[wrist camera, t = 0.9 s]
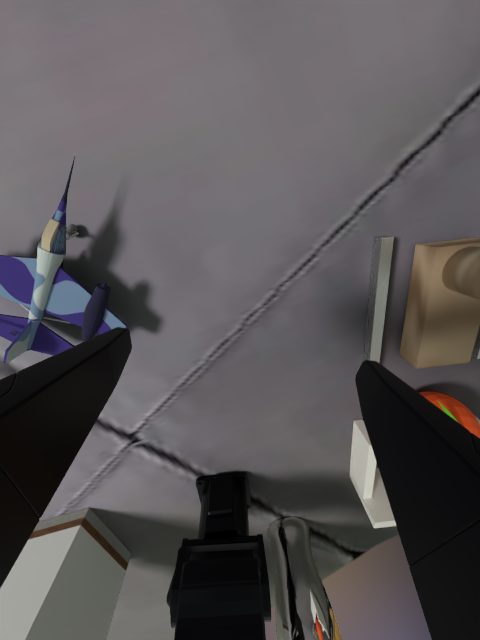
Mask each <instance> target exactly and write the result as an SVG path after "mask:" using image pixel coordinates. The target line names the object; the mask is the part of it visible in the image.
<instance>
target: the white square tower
mask: <svg viewBox="0 0 480 640" xmlns="http://www.w3.org/2000/svg"><path fill="white" fill-rule="evenodd" d="M130 555H131V553H130V551H129V550H128V549H127V548H126V547H125V546H124V545H123V544H122V543H121V542H120V541H119V539H118V538H117V537H116V536H115V535H114V534H113V533H112V532H111V531H110V530H109V529H108V528H107V526H106V525H105V524H104V523H103V522H102V521H101V520H100V519H99V518H98V517H97V516H96V514H95V513H94V512H93V511H92V510H91V509H90V508H86V509H82V510H79V511H75V512H72V513H68V514H65V515H61V516H58V517H54V518H51V519H47V520H44V521H40V522H38V524H37V525H36V527H35V529H34V531H33V532H32V534H31V536H30V538H29V539H28V541H27V543H26V545H25V546H24V548H23V550H22V552H21V553H20V555H19V557H18V559H17V560H16V562H15V564H14V566H13V567H12V569H11V571H10V573H9V574H8V576H7V578H6V580H5V581H4V583H3V585H2V587H1V588H0V640H106V638H107V634H108V631H109V627H110V624H111V620H112V617H113V614H114V610H115V607H116V603H117V600H118V597H119V593H120V590H121V586H122V583H123V579H124V576H125V573H126V569H127V566H128V562H129V559H130Z"/></svg>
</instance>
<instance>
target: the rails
mask: <svg viewBox="0 0 480 640" xmlns="http://www.w3.org/2000/svg"><path fill="white" fill-rule="evenodd" d="M393 241H394V236H377V237H374V242H373V254H372V265H371V277H370V288H369V300H368V311H367V323H366V334H365V346H364V358H363V361H364V360H372V361H377V362H378V363H379V362H380V353H381V345H382V336H383V327H384V319H385V310H386V301H387V293H388V284H389V276H390V267H391V258H392V250H393ZM471 356H472V357H474V358H476V359H480V326H479V330H478V333H477V337H476V341H475V344H474V348H473V351H472V355H471Z"/></svg>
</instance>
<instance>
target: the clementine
mask: <svg viewBox="0 0 480 640" xmlns="http://www.w3.org/2000/svg"><path fill="white" fill-rule="evenodd" d="M418 393H419V394H421V395H422V396H424V397H425V398H426V399H428V400H429V401H430V402H432V403H433V404H434V405H436V406H437V407H438V408H440V409H441V410H442V411H444V412H445V413H446V414H448V415H449V416H450V417H452V418H453V419H454V420H456V421H457V422H458V423H460V424H461V425H462V426H464V427H465V428H466V429H468V430H469V431H470V433H473V434H474V435H476V436H477V437H478V438H480V424H479V423H478V421H477V419H476V417H475V416H474V414H473V413H472V412H471V411H470V410H469V409H468V408H467V407H466V406H465V405H464V404H463V403H461V402H460V401H458V400H456V399H455V398H453V397H451V396H449V395H446V394H442V393H438V392H418Z"/></svg>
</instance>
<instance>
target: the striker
mask: <svg viewBox="0 0 480 640" xmlns="http://www.w3.org/2000/svg"><path fill="white" fill-rule="evenodd" d="M479 326H480V238H466V239H458V240H449V241H441V242H432V243H424V244H416V247H415V253H414V260H413V267H412V274H411V280H410V287H409V294H408V300H407V307H406V314H405V321H404V327H403V334H402V341H401V348H400V354H399V355H400V356H401V357H402V358H404V359H405V360H406V361H407V362H409V363H410V364H411V365H412V366H414V367H415V368H416V369H417V368H426V367H434V366H443V365H451V364H460V363H468V362H470V359H471V355H472V351H473V348H474V344H475V341H476V337H477V333H478V330H479Z"/></svg>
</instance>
